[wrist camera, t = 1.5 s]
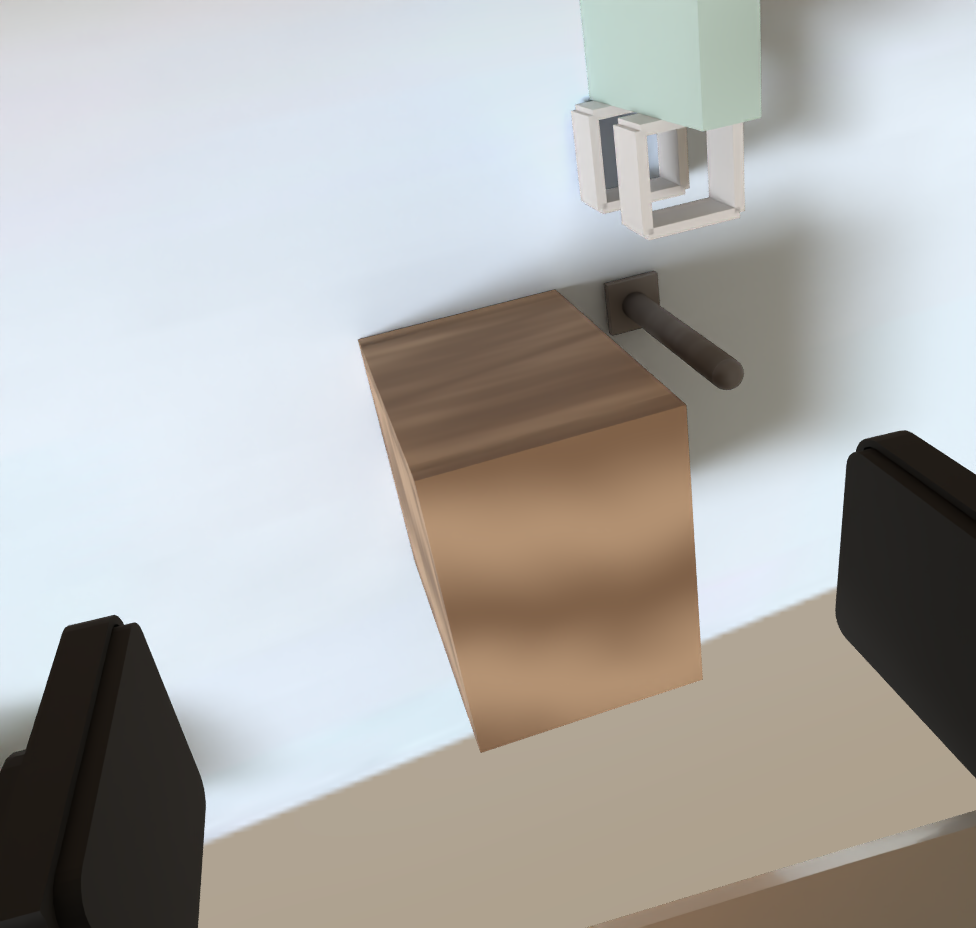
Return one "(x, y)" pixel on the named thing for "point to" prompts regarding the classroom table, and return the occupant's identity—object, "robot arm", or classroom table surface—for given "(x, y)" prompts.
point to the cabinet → (548, 501)
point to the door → (668, 105)
